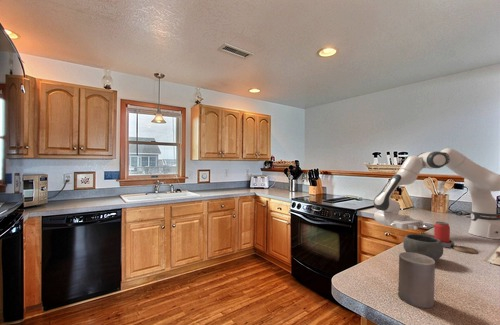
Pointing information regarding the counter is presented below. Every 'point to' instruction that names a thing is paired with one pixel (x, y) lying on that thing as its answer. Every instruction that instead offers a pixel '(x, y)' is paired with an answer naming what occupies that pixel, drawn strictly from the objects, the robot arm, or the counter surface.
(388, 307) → the counter surface
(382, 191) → the robot arm
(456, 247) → the walnut coaster
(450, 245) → the can collar
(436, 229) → the beer can
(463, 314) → the counter surface
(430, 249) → the bowl
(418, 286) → the pillar candle
